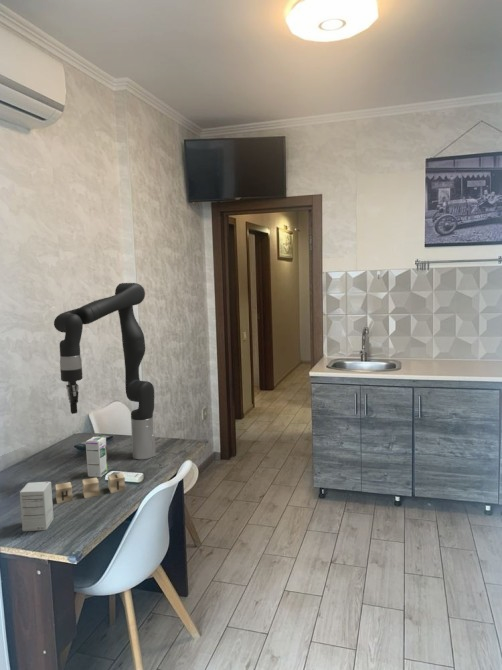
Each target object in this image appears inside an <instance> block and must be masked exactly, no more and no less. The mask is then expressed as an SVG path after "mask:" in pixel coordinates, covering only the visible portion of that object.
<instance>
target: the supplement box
mask: <svg viewBox="0 0 502 670" xmlns="http://www.w3.org/2000/svg"><path fill="white" fill-rule="evenodd" d="M19 500H20V501H19V504H20V516H21V527H22V528H21V529H22V530H21V531H22V532H31V531H32V532H33V531H35V532H36V531H47V530H48V528H49V526H50V525H51V524H52V522H53V520H54V509H53V507H54V505H53V492H52V482H51V481H37V482H33V481H32V482H27V483H26V484H25V486H23V487H22V489H21V490H19Z"/></svg>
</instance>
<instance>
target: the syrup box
mask: <svg viewBox="0 0 502 670" xmlns="http://www.w3.org/2000/svg"><path fill="white" fill-rule="evenodd" d="M107 451H108V450H107V437H106V436H92V437H91V438H89V439H88V440H86V441H85V452H86V454H85V455H86V465H87V467H86V468H87V477H90V478H96V477H97V478H102V477H103V476H104V475H105V474H107V473H108V472H109V469H108V468H109V467H108V452H107Z"/></svg>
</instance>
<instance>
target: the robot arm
mask: <svg viewBox="0 0 502 670" xmlns="http://www.w3.org/2000/svg"><path fill="white" fill-rule="evenodd" d="M144 288H145V287H143V285H141V284H139V283H136V282H122V283H119V284H118V285H117V286H116V288H115V291H114V295H112V296H108V297H104V298H100V299H97V300H93V301H91V302H89V303H87V304H84V305H83V306H81V307H79V308H78V307H77V308H73V309H71V310H67V311H64V312H62V313H59V314H58V315H57V316H56V317H54V318H55V319H54V321H53V326H54V328H55V330H56V331H58V332H61V333H64V339H62V340H61V341H59V368H60V369H59V370H60V380H61V381H62V382H65V383H66V382H67V384H66V388H65V389H66V390H67V393H66V394H67V397H68V400H69V401H68V402H69V405H70V414H72V415H73V414H77V413H78V403H79V389H80V388H79V385H78V383H77V382H78V381H81V380H83V378H84V377H83V365H82V358H81V346H80V345H81V344H80V343H81V339H82V335H83V334H82V333H83V327H84V325H89V324H93V322H95V321H98V320H100V319H102V318H104V317H106V316H108V315H111V314H113V313H115V312H118V317H119V323H120V324H119V325H120V332H121V342H122V349H123V350H122V351H123V357H124V359H123V360H124V370H125V371H124V372H125V373H124V375H125V376H124V377H125V382H124V383H125V394H126V398H127V399H128V400H129V401H131V402H135V403H138V407H137V408H136V409H133V410H132V411H131V412H130V421H131V422H130V425H131V427H130V428H131V448H132V450H131V451H132V458H133V459H136V460H148V459H151V458H153V457H156V436H155V434H154V416H153V415H154V411H155V387H154V385H153V383H152V382H151V381H146V380H140V366H141V363H142V361H143V359H144V356H145V354H146V339H145V334H144V332H143V330H142V328H141V326H140V324H139V322H138V321H137V319H136V316H135V314H134V306H137V305H140V304H141V303H142V302H143V301H144V299H145V295H146V291H145V289H144Z"/></svg>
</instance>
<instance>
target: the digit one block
mask: <svg viewBox="0 0 502 670" xmlns="http://www.w3.org/2000/svg"><path fill="white" fill-rule="evenodd" d="M125 480H126V479H125V475H124V474H123V472H119V473H118V472H117V473H112V474H108V475H107V482H108V483H107V486H108V487H107V488H108V490H109V493H110V494H114V493H115V494H116V493H120V492H125V491H126V485H125V484H126V481H125ZM124 490H125V491H124Z"/></svg>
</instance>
